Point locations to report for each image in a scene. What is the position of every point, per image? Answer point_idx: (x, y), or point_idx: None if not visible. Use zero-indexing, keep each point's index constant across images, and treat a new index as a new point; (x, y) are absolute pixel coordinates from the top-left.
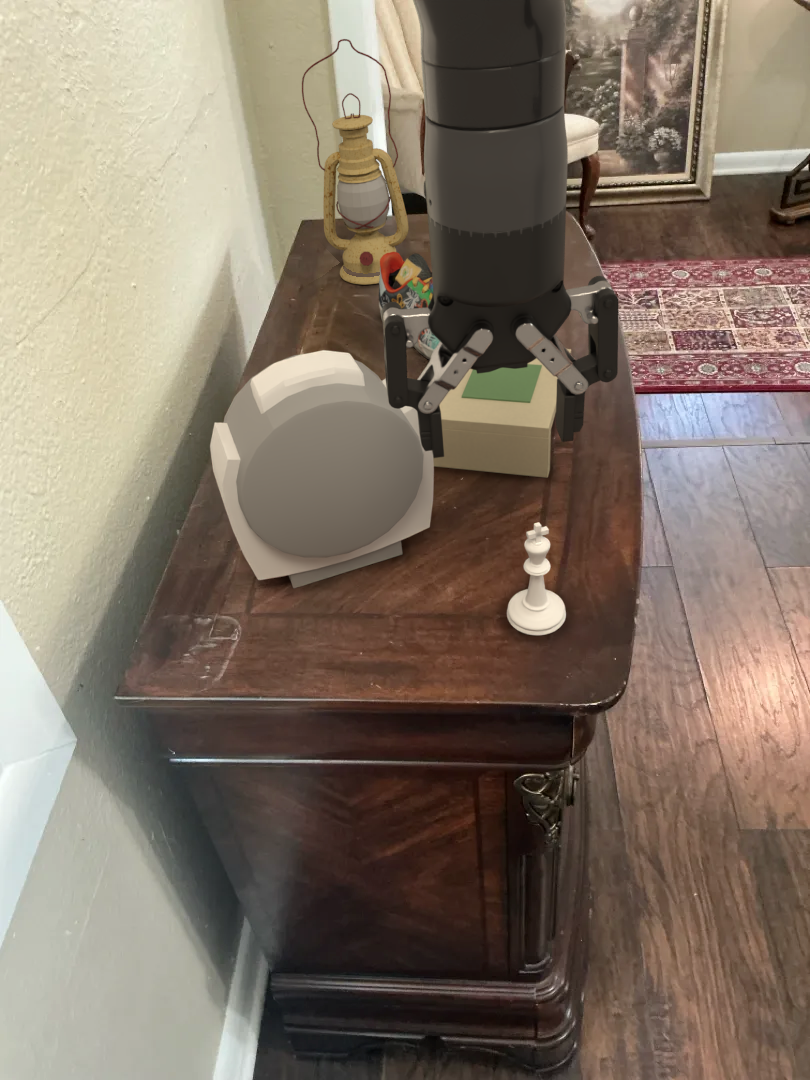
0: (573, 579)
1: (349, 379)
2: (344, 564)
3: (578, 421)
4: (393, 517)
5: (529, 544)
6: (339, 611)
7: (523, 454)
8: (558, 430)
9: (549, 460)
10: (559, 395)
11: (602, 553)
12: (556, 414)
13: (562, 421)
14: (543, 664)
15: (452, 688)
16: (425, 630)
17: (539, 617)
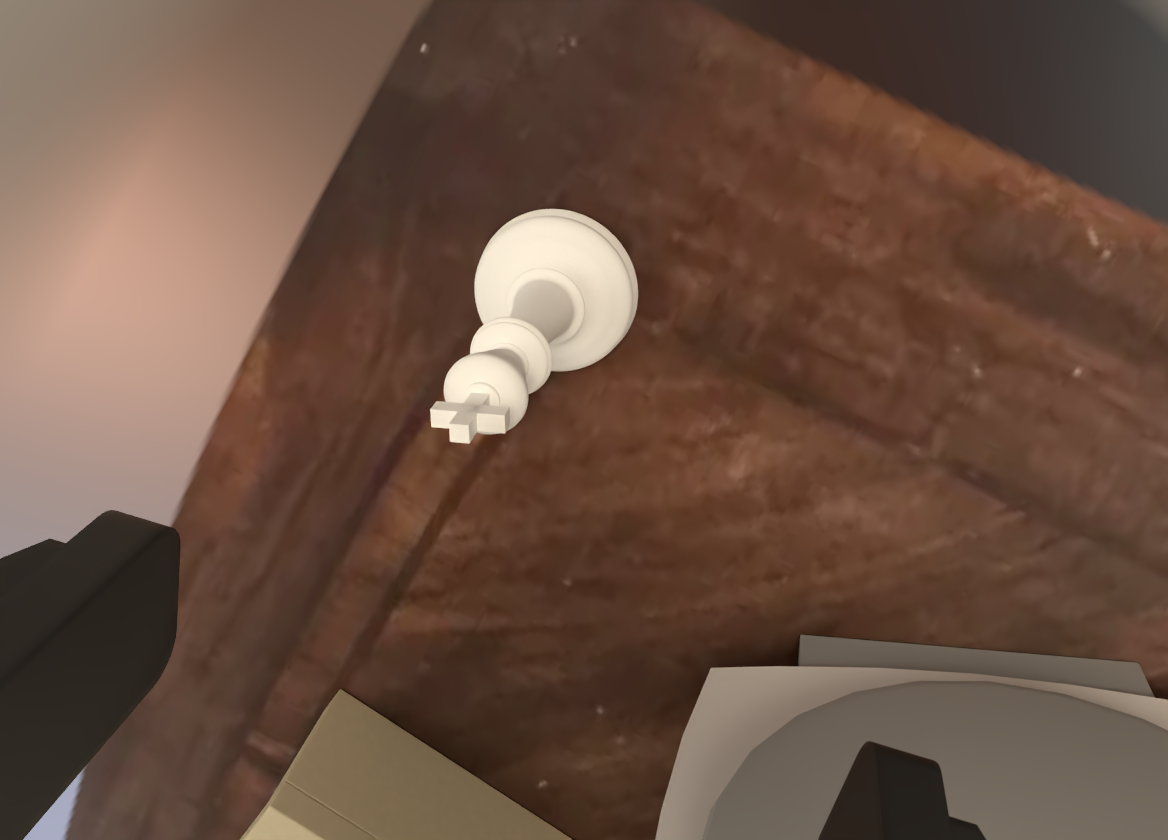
0: (414, 356)
1: None
2: (978, 667)
3: (7, 583)
4: (835, 721)
5: (510, 401)
6: (1058, 534)
7: (368, 771)
8: (166, 617)
9: (314, 728)
10: (7, 796)
11: (309, 404)
12: (125, 710)
13: (94, 623)
14: (615, 112)
15: (896, 139)
16: (866, 368)
17: (560, 254)
